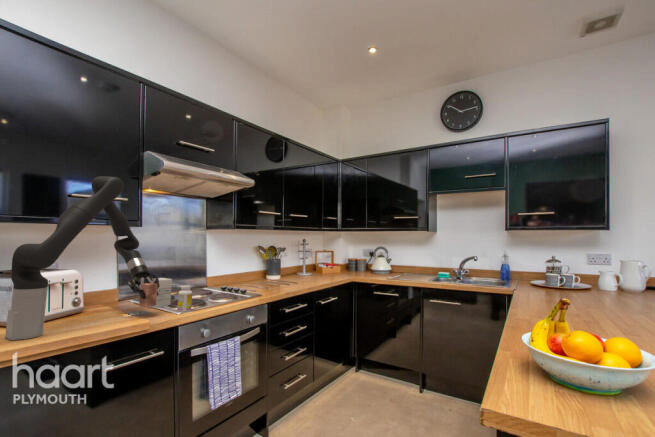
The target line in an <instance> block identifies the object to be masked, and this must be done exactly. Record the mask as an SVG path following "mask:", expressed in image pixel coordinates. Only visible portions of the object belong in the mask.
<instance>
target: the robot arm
mask: <svg viewBox="0 0 655 437" xmlns="http://www.w3.org/2000/svg"><path fill="white" fill-rule="evenodd" d="M91 189H92V192H93V193H94V194H92V195H91V196H87V197H86V198H83V199H82V200H79V201H77V202H75V203H73V204H72V205H71V206H69V207H68V208H67V209H66V210H65V211H64V212H62V213H61V215H60V216H59V218H58V220H57V222H56V223H57V224H56V226H55V230H54V231H53V233H51V235H50V236H49V237H48V238H46V239H45V240H43V241H42V242H41V243H24V244H21V245H19V246H18V247H16V249H15V250H14V252H13V254H12V258H11V259H12V260H11V273H10V278H11V282H12V286H13V287H12V297H11V304H10V309H9V310H8V311H7V316H6V317H7V318H6V327H5V328H6V329H5V334H4V335H5V336H4V337H5V339H7V340H8V341H9V340H10V341H15V340H16V341H17V340H26V339H27V340H28V339H33V338H36V337H37V338H38V337H40V336H43V334H44V327H45V326H44V324H45V316H46V306H47V298H48V288H49V280H48V279H47V278H46V277H45V276H44V275H43V274H42V273H41V270H44V269H47V268H50V267H51V266H52V265H53V264H54V263H55V262H57V260H58V259H59V257H61V255H62V254H63V253H64V251H65V250H66V248H67V247H69V245H70V244H71V242H73V241H74V240H75V238H76V237H77V236H78V235H79V234H80V233H81V232H83V230H84V229H85V228H86V227H87V226H89V224H90V223H91V222H92V221H93V220H94V218H96V216H97V215H99V213H101V212H102V211H104V212H105V214H106V216H107V219H108V221H109V222H110V226H111V229H112V232H113V233H114V235H115V236H116V237H124V238H120V239H117V240H116V241H115V242H114V244H113V247H114V250H115V251H116V252H117V253H118V254H119V255H120V256H121V257H122V258H123V259H124V261H125V264H126V267H127V271H128V272H129V275H130V276H131V279H129V280H128V282H127V285H128V287H129V288H130V290H131V291H133V293H138V294H139V297H140V296H141V298H142V299H145V298H146V294H145V292H144V290H143V287H142V284H145V283H155V284H158V286H157V289H158V288H159V287H160V285H159V280H158V278H159V277H155V278H153V277H152V276H151V274H150V270H149V268H148V266H147V265H146V262H145V260H144V259H143V257H142V256H141V255H142V254H141V253H140V251H138V250H137V249H138V248H140V247H139V246H140V241H139V240H138V238H137V237H136V236H135V235H134V233H133V231H132V229H131V227H130V224H129V220H128V219H127V216H126V214H124V212H123V211H122V210H121V209H120V208H119V207H118V206H117V205H116V203H115V201H114V200H115V199H117V198H118V197H119V196H120V195H121V194H122V192H123V191H124V181H123V180H122V179H121V178H120V177H117V176H116V177H115V176H104V175H102V176H101V175H100V176H96V177H94V178H93V179H92V181H91ZM152 281H153V282H152ZM157 296H158V291H157Z"/></svg>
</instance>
